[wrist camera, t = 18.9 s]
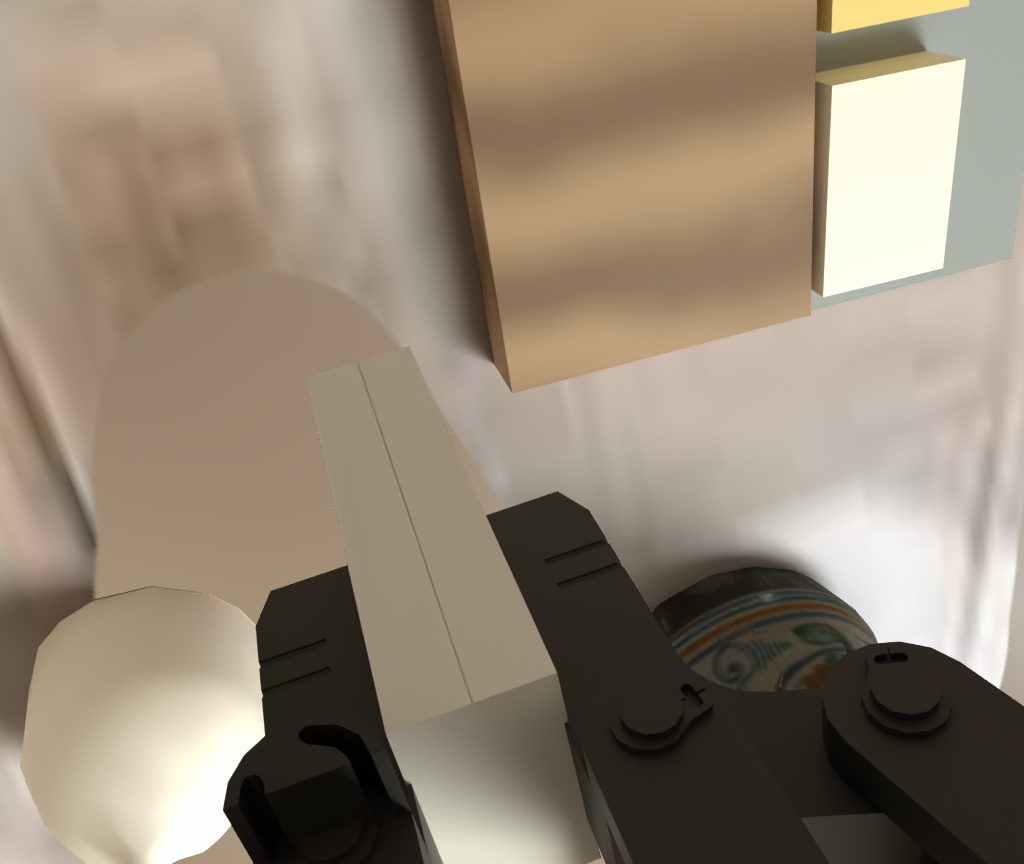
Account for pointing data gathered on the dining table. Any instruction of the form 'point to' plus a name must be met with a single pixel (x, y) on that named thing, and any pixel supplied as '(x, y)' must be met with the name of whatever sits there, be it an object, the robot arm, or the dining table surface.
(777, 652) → the beer stein
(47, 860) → the dining table surface
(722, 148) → the walnut deck
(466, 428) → the dining table surface
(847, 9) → the mustard tile
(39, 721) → the teardrop
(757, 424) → the dining table surface
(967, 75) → the slate mat
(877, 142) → the ivory tile
